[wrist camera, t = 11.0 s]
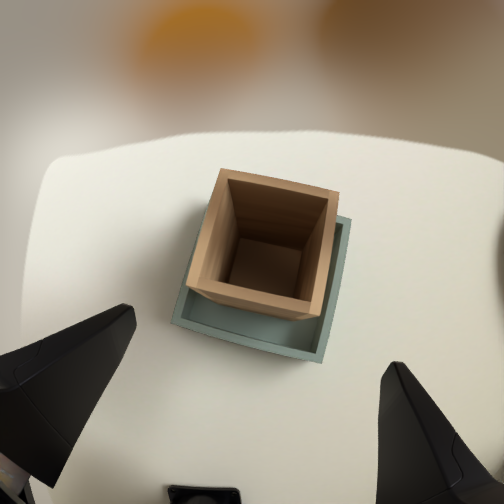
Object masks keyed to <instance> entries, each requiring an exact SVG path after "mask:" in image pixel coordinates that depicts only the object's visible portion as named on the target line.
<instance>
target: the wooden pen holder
mask: <svg viewBox="0 0 504 504" xmlns="http://www.w3.org/2000/svg"><path fill="white" fill-rule="evenodd" d="M338 200H339V192H336V191H332V190H328V189H323V188H319V187H315V186H310V185H306V184H301V183H297V182H292V181H287V180H283V179H278V178H273V177H267V176H262V175H257V174H251V173H246V172H240V171H234V170H228V169H222V168H221V169H220V172H219V175H218V178H217V181H216V184H215V187H214V190H213V193H212V196H211V199H210V203H209V206H208V209H207V212H206V215H205V219H204V222H203V225H202V229H201V232H200V235H199V239H198V242H197V246H196V249H195V253H194V256H193V260H192V263H191V267H190V270H189V274H188V278H187V281H186V286H188V287H189V288H191V289H193V290H194V291H196V292H198V293H199V294H201V295H203V296H204V297H206V298H208V299H209V300H211V301H213V302H215V303H216V304H218V305H222V306H226V307H230V308H234V309H239V310H243V311H247V312H252V313H256V314H260V315H265V316H269V317H274V318H279V319H283V320H288V321H293V322H294V321H298V320H303V319H308V318H312V317H317V316H320V313H321V308H322V303H323V298H324V293H325V287H326V282H327V276H328V270H329V264H330V258H331V252H332V245H333V238H334V231H335V224H336V217H337V209H338Z"/></svg>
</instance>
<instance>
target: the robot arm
mask: <svg viewBox="0 0 504 504" xmlns="http://www.w3.org/2000/svg"><path fill="white" fill-rule="evenodd" d="M136 326H137V323H136V317H135V312H134V308H133V306H131V305H127V304H124V303H122V304H120V305H117V306H115V307H113V308H111V309H108V310H106V311H104V312H102V313H99V314H97V315H95V316H93V317H90V318H88V319H86V320H84V321H81V322H79V323H77V324H75V325H73V326H70V327H68V328H66V329H64V330H61V331H59V332H57V333H55V334H52V335H50V336H48V337H46V338H44V339H41V340H39V341H37V342H35V343H32V344H30V345H28V346H25V347H23V348H20V349H17V350H15V351H12V352H9V353H6V354H4V355H1V356H0V504H35V501H34V498H33V494H32V491H31V487H30V483H29V478H30V476H31V475H32V476H33V477H35V478H36V479H38V480H39V481H41V482H42V483H44V484H46V485H47V486H49V487H51V488H52V489H53V488H54V486H55V484H56V482H57V480H58V478H59V476H60V474H61V472H62V470H63V468H64V466H65V464H66V462H67V460H68V458H69V456H70V454H71V452H72V450H73V447H74V445H75V443H76V442H77V440H78V438H79V436H80V434H81V432H82V430H83V428H84V426H85V424H86V423H87V421H88V419H89V417H90V415H91V413H92V411H93V410H94V408H95V406H96V404H97V402H98V401H99V399H100V397H101V395H102V394H103V392H104V390H105V388H106V387H107V385H108V383H109V381H110V380H111V378H112V376H113V374H114V373H115V371H116V369H117V368H118V366H119V364H120V362H121V360H122V358H123V356H124V354H125V351H126V349H127V347H128V345H129V343H130V340H131V338H132V336H133V334H134V332H135V330H136ZM172 489H173V490H175V491H173V490H172ZM232 492H235V493H236V494H232ZM168 494H169V498H170V504H242V503H241V496H240V491H239V490H238V489H236V488H200V487H185V486H174V485H171V486H169V488H168ZM376 504H504V484H502V483H500V482H498V481H497V480H495V479H494V478H493V477H492V476H491V475H490V473H489V472H488V471H487V470H486V469H485V467H484V466H483V465H482V464H481V463H480V462H479V460H478V459H477V458H476V457H475V456H474V454H473V453H472V452H471V451H470V449H469V448H468V447H467V446H466V444H465V443H464V441H463V440H462V439H461V437H460V436H459V435H458V433H457V432H456V431H455V429H454V428H453V426H452V425H451V424H450V422H449V421H448V420H447V418H446V417H445V415H444V414H443V413H442V411H441V410H440V409H439V407H438V406H437V405H436V403H435V402H434V401H433V399H432V398H431V397H430V396H429V394H428V393H427V392H426V390H425V389H424V388H423V386H422V385H421V384H420V383H419V381H418V380H417V379H416V377H415V376H414V375H413V374H412V372H411V371H410V370H409V369H408V367H407V366H406V365H405V364H404V363H403V362H398V361H393V362H391V363H390V365H389V366H388V368H387V370H386V371H385V373H384V374H383V376H382V378H381V384H380V401H379V414H378V477H377V494H376Z"/></svg>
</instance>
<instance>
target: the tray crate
mask: <svg viewBox="0 0 504 504" xmlns="http://www.w3.org/2000/svg"><path fill="white" fill-rule="evenodd" d="M212 193H213V192H212ZM211 196H212V195H211ZM210 199H211V198H210ZM209 203H210V201H209ZM209 203H208V206H209ZM208 206H207V209H208ZM207 209H206V212H207ZM206 212H205V215H206ZM205 215H204V218H203V221H202V224H201V227H200V230H199V233H198V236H197V239H196V242H195V245H194V248H193V251H192V254H191V257H190V260H189V263H188V266H187V270H186V273H185V276H184V279H183V282H182V286H181V289H180V292H179V296H178V299H177V303H176V306H175V309H174V313H173V316H172V320H171V323H172V324H175V325H178V326H181V327H184V328H187V329H190V330H193V331H196V332H199V333H203V334H206V335H209V336H213V337H216V338H219V339H223V340H226V341H230V342H233V343H237V344H240V345H244V346H248V347H252V348H255V349H259V350H263V351H267V352H271V353H275V354H280V355H284V356H288V357H293V358H297V359H302V360H306V361H311V362H316V363H321V364H322V361H323V357H324V353H325V349H326V346H327V342H328V338H329V334H330V329H331V325H332V321H333V317H334V312H335V308H336V303H337V299H338V294H339V289H340V284H341V279H342V274H343V269H344V263H345V258H346V252H347V246H348V240H349V234H350V227H351V220H352V219H349V218H346V217H342V216H338V215H337V217H336V224H335V231H334V238H333V245H332V252H331V258H330V264H329V270H328V276H327V282H326V287H325V293H324V298H323V303H322V308H321V313H320V316H317V317H312V318H308V319H303V320H298V321H294V322H293V321H288V320H283V319H279V318H274V317H269V316H265V315H260V314H256V313H252V312H247V311H243V310H239V309H234V308H230V307H226V306H222V305H218V304H216V303H215V302H213V301H211V300H209V299H208V298H206V297H204V296H203V295H201V294H199V293H198V292H196V291H194V290H193V289H191V288H189V287H188V286H186V281H187V278H188V274H189V270H190V267H191V263H192V260H193V256H194V253H195V249H196V246H197V242H198V239H199V235H200V232H201V229H202V225H203V222H204V219H205Z"/></svg>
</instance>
